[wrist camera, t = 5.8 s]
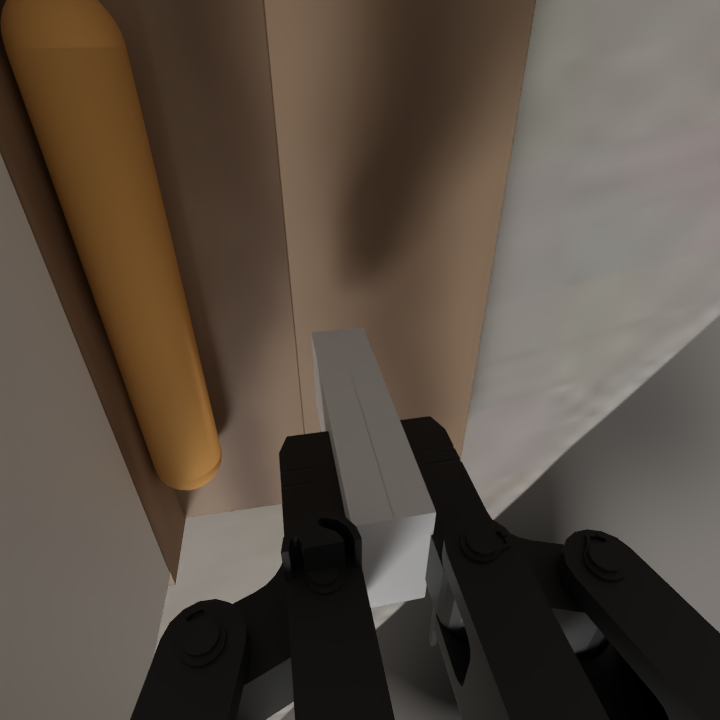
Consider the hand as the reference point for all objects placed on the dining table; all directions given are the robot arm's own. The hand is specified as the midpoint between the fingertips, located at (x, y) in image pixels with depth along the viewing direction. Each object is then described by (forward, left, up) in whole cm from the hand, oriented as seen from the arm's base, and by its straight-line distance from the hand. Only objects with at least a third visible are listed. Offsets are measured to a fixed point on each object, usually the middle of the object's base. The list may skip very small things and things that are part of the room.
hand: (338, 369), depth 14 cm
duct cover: (-8, 0, +3) cm, 9 cm away
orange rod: (-6, 0, -7) cm, 9 cm away
